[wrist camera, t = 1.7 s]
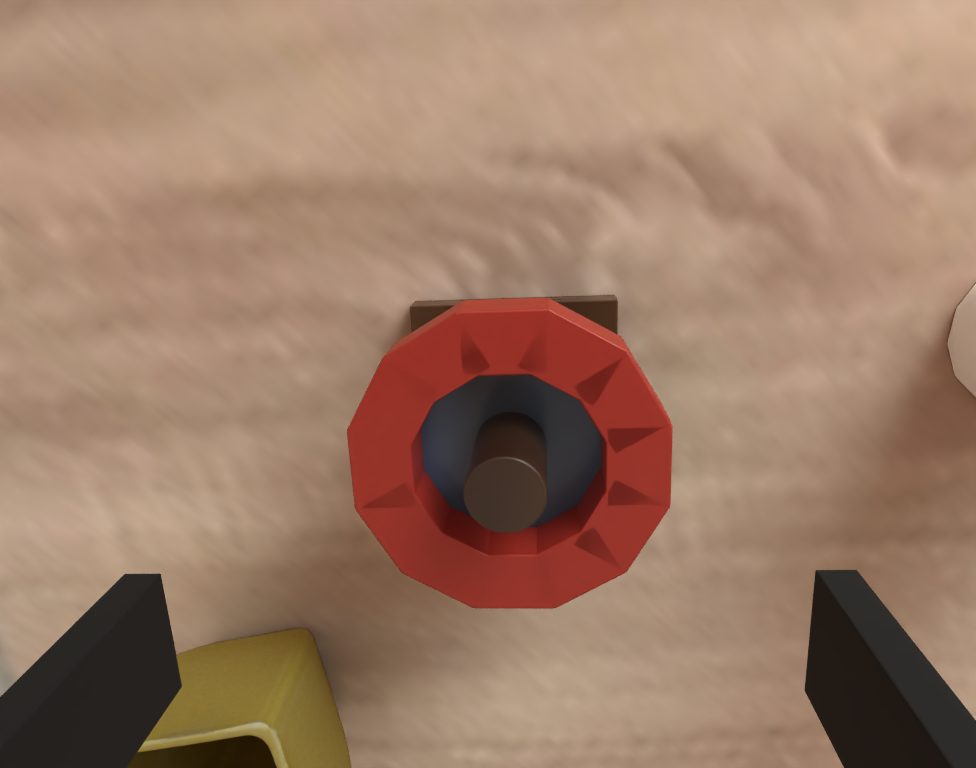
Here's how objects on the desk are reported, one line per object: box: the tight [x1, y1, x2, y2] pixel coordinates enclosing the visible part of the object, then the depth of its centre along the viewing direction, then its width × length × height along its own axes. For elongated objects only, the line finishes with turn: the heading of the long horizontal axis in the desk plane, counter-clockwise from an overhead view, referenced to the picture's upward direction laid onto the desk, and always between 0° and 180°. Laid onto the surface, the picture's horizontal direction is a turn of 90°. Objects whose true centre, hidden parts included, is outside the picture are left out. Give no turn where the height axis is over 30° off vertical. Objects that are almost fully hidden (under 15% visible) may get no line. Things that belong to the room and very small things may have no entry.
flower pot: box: [127, 628, 351, 768], centre depth 31 cm, size 9×9×9 cm
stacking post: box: [410, 295, 618, 533], centre depth 26 cm, size 8×8×10 cm
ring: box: [347, 298, 672, 608], centre depth 24 cm, size 10×10×2 cm
